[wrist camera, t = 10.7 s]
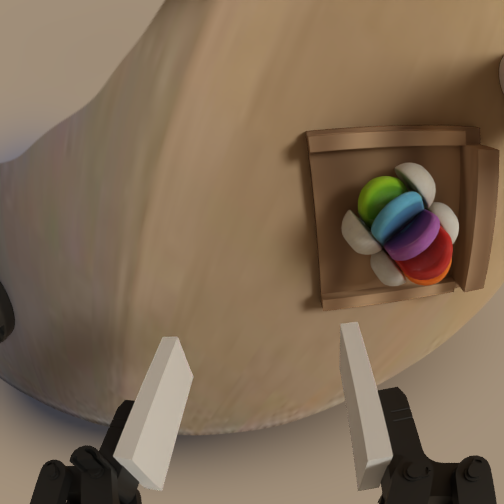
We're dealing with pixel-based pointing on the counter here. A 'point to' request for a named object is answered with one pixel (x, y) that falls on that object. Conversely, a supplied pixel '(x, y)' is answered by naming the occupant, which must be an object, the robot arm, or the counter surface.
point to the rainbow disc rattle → (403, 228)
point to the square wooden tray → (383, 164)
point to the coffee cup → (501, 74)
